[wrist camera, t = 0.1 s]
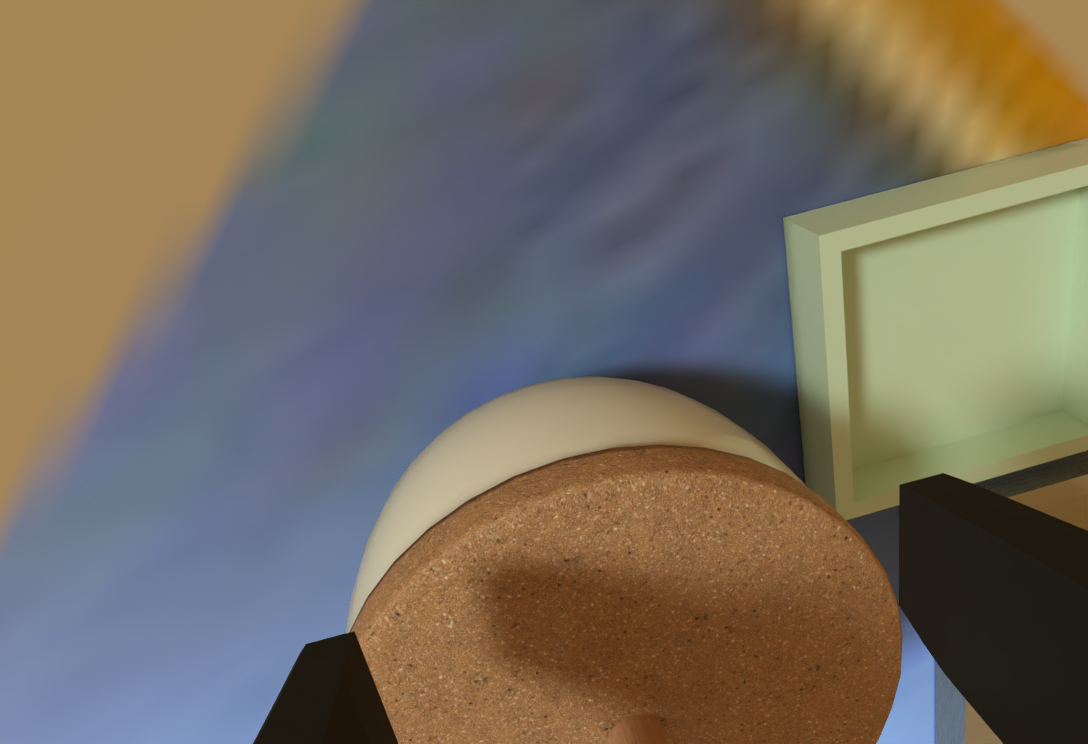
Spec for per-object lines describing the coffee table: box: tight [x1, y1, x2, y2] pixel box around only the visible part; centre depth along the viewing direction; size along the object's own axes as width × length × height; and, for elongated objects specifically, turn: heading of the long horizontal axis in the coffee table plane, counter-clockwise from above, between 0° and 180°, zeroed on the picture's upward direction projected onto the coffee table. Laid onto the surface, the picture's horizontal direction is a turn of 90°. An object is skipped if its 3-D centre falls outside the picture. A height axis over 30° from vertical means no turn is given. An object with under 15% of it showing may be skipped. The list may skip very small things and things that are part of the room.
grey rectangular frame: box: [935, 450, 1088, 744], centre depth 25 cm, size 13×8×2 cm, turn 12°
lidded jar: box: [346, 376, 903, 744], centre depth 17 cm, size 11×11×9 cm
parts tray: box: [783, 138, 1088, 520], centre depth 20 cm, size 8×8×2 cm
